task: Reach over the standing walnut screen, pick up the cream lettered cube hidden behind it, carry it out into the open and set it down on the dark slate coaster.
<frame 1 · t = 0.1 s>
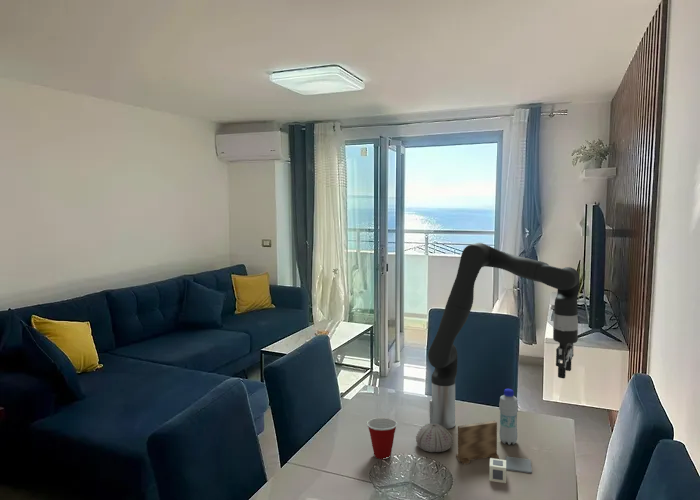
hand: (564, 374, 162), 29 cm above the table, fingers open, 8 cm apart
walnut screen: (477, 457, 165), on the table
sea urchin shell: (434, 446, 174), on the table
bottle: (508, 442, 175), on the table
slate coaster: (518, 465, 160), on the table
plastic cup: (382, 455, 168), on the table
letter cube: (497, 477, 153), on the table
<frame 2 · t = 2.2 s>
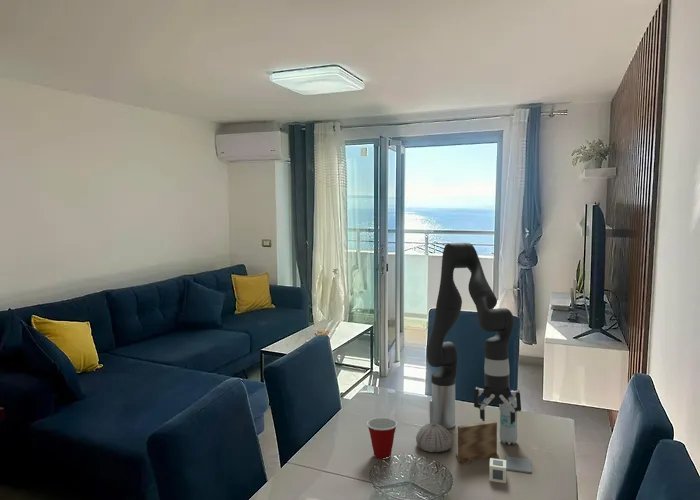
hand: (497, 421, 152), 18 cm above the table, fingers open, 8 cm apart
nothing on the table moved.
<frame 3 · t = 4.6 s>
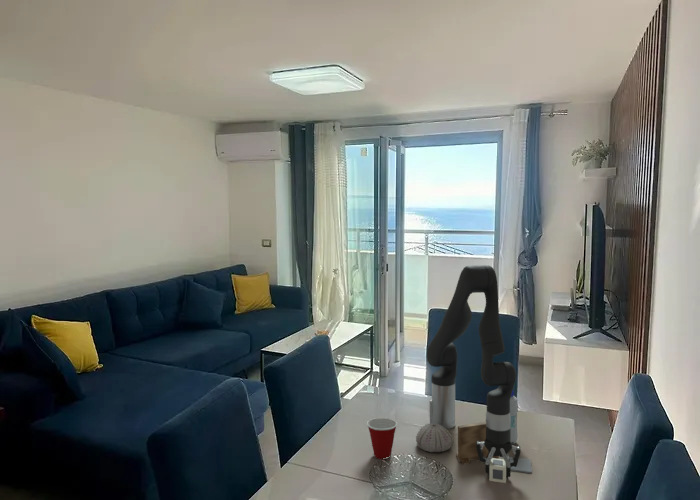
hand: (497, 475, 152), 1 cm above the table, fingers closed on letter cube, 5 cm apart
letter cube: (497, 477, 153), on the table, touching gripper
everything else where it was.
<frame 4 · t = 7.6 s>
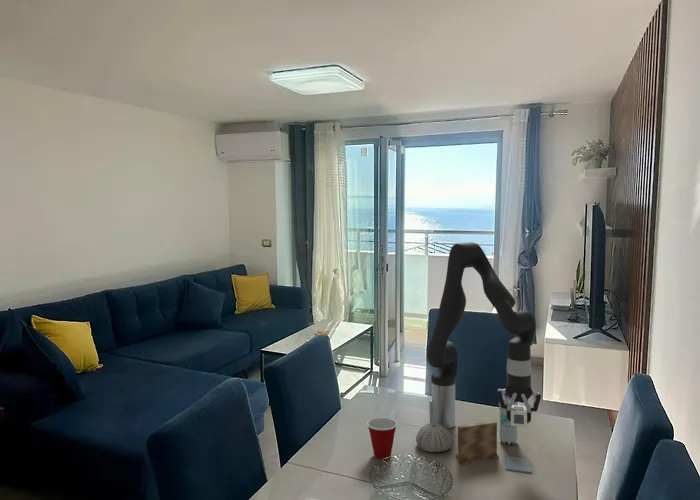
hand: (518, 421, 158), 15 cm above the table, fingers closed on letter cube, 5 cm apart
letter cube: (518, 423, 158), point 15 cm above the table, touching gripper
everything else where it was.
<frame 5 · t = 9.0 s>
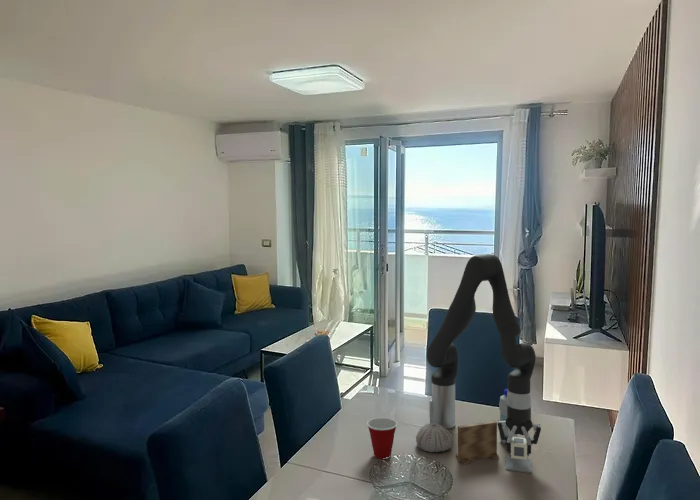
hand: (518, 453, 159), 4 cm above the table, fingers closed on letter cube, 5 cm apart
letter cube: (518, 455, 159), point 4 cm above the table, touching gripper
everything else where it was.
when the fingers open (3 cm above the table, at t = 10.2 s): letter cube drops 2 cm, resting on slate coaster.
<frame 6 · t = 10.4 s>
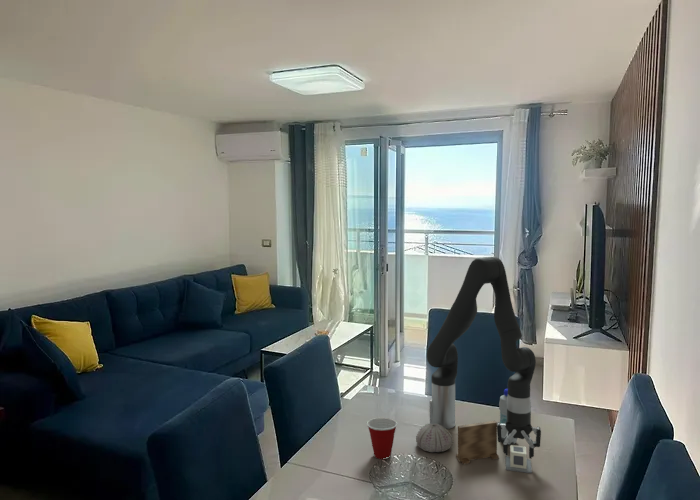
hand: (518, 455, 159), 3 cm above the table, fingers open, 7 cm apart
letter cube: (518, 463, 159), resting on slate coaster
everything else where it was.
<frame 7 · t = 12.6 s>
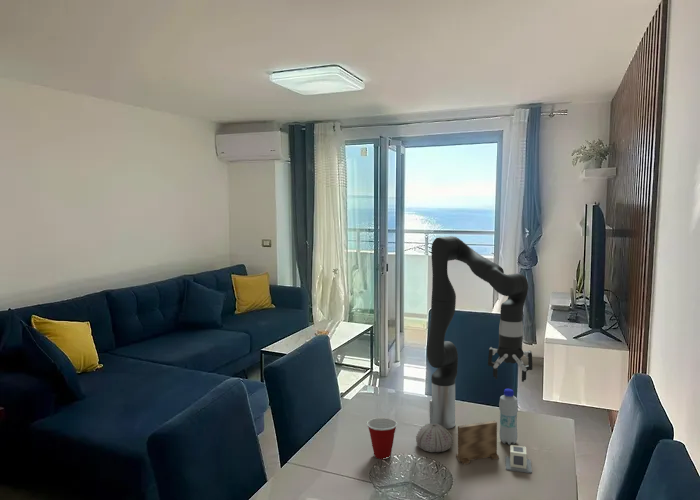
hand: (509, 379, 162), 28 cm above the table, fingers open, 8 cm apart
nothing on the table moved.
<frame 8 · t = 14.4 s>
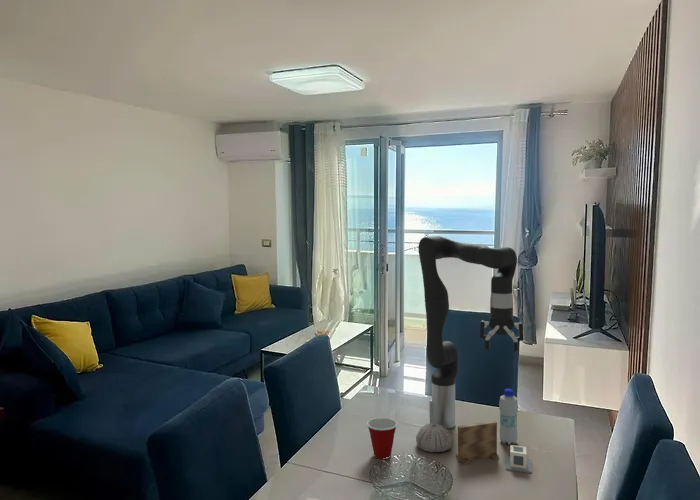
hand: (501, 351, 166), 36 cm above the table, fingers open, 8 cm apart
nothing on the table moved.
at the end: letter cube inside the target area on the slate coaster (0.0 cm from its centre), point 0.5 cm above the slate coaster's base; letter cube tilted 0°; the gripper is holding nothing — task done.
